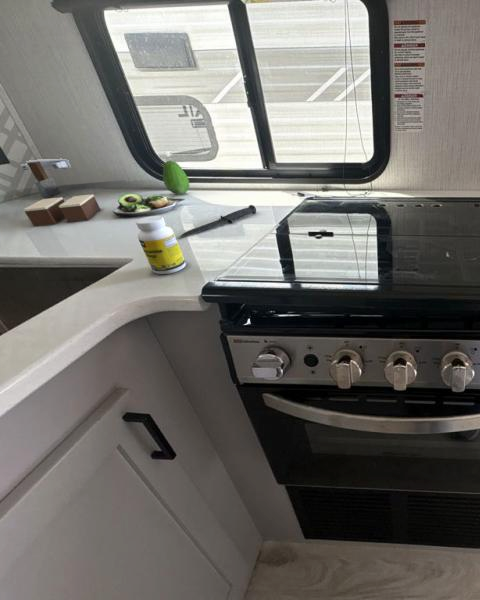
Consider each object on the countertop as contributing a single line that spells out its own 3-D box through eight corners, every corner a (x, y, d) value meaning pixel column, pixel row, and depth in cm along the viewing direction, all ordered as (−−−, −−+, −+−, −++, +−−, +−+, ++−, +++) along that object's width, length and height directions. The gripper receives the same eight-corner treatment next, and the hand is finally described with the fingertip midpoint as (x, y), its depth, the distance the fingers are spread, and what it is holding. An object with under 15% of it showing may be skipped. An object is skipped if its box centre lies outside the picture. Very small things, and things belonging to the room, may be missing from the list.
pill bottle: (146, 274, 70) (122, 223, 64) (169, 261, 75) (149, 213, 69) (171, 276, 68) (149, 225, 63) (193, 263, 74) (174, 215, 68)
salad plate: (189, 198, 120) (184, 185, 118) (183, 212, 106) (178, 197, 104) (126, 205, 114) (119, 191, 111) (111, 220, 100) (103, 205, 97)
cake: (88, 220, 101) (79, 203, 98) (33, 226, 96) (23, 209, 94) (100, 209, 110) (93, 194, 107) (51, 214, 106) (42, 199, 103)
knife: (250, 209, 105) (251, 202, 103) (260, 218, 104) (261, 212, 102) (170, 231, 88) (169, 224, 86) (180, 243, 87) (180, 236, 86)
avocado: (185, 196, 122) (173, 162, 116) (164, 196, 123) (151, 162, 116) (197, 191, 129) (186, 158, 123) (177, 191, 129) (165, 158, 123)
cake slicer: (50, 198, 123) (30, 164, 117) (42, 199, 122) (21, 164, 116) (61, 192, 131) (43, 159, 124) (53, 192, 130) (35, 160, 124)
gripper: (17, 154, 129) (-3, 160, 118) (82, 151, 136) (68, 155, 125) (27, 171, 133) (9, 178, 122) (89, 167, 139) (77, 173, 128)
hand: (39, 167), depth 124 cm, fingers open, 8 cm apart
